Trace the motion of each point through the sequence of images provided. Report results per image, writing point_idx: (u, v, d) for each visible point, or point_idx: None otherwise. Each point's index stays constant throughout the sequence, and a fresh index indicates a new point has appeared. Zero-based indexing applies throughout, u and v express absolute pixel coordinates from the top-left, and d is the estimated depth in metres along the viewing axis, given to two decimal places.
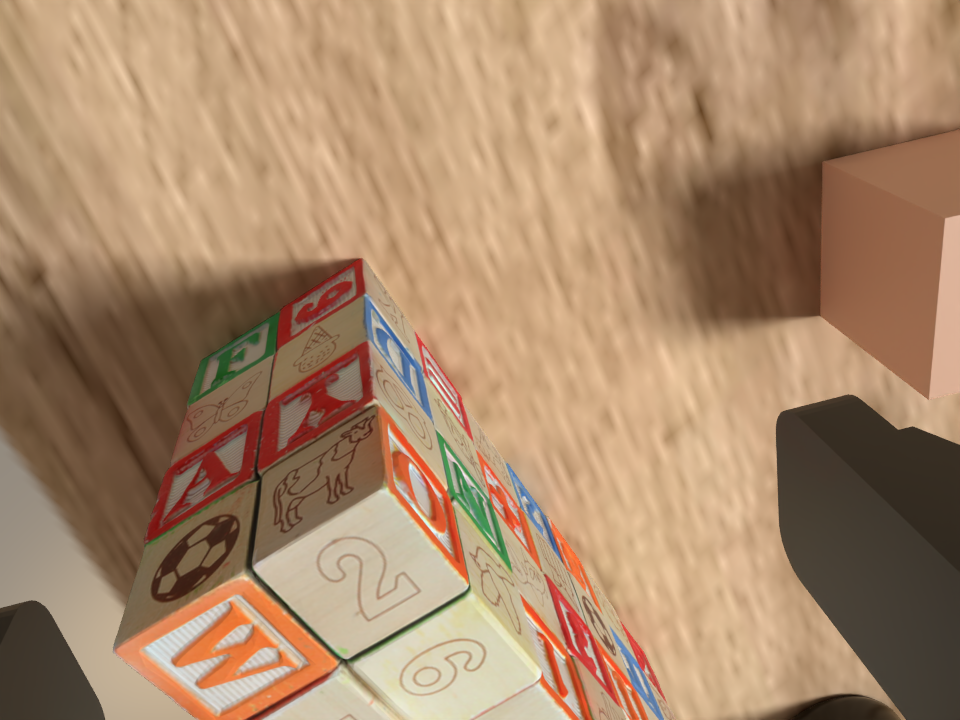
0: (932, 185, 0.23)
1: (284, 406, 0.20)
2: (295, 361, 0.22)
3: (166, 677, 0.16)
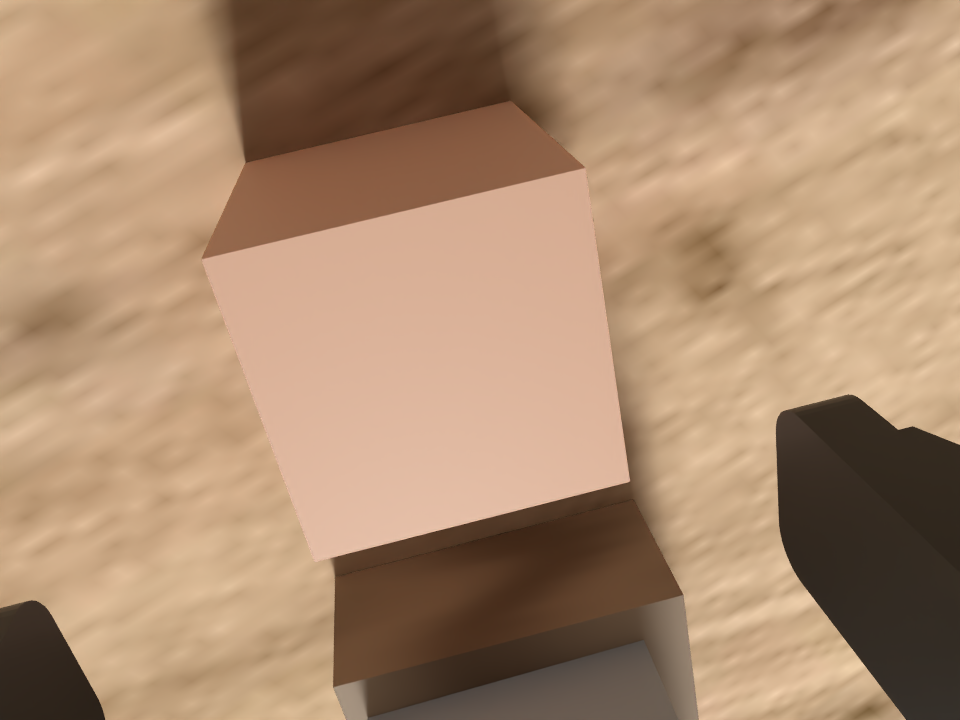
0: None
1: None
2: None
3: None
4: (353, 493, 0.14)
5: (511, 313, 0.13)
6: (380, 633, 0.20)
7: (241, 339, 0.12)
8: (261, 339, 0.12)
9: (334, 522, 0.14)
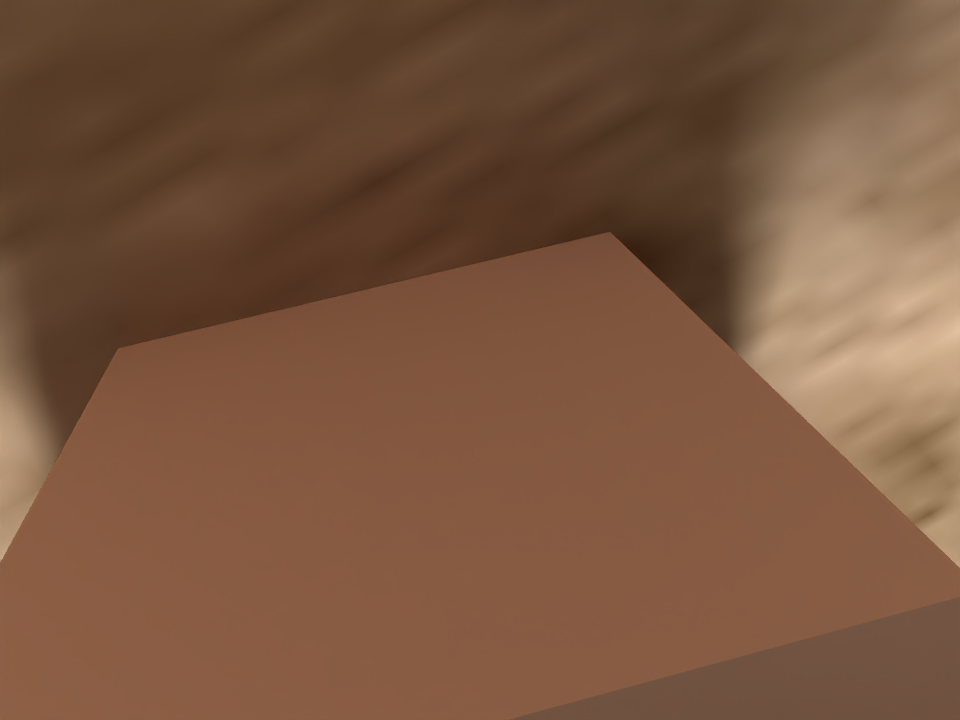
0: None
1: None
2: None
3: None
4: None
5: None
6: None
7: None
8: None
9: None
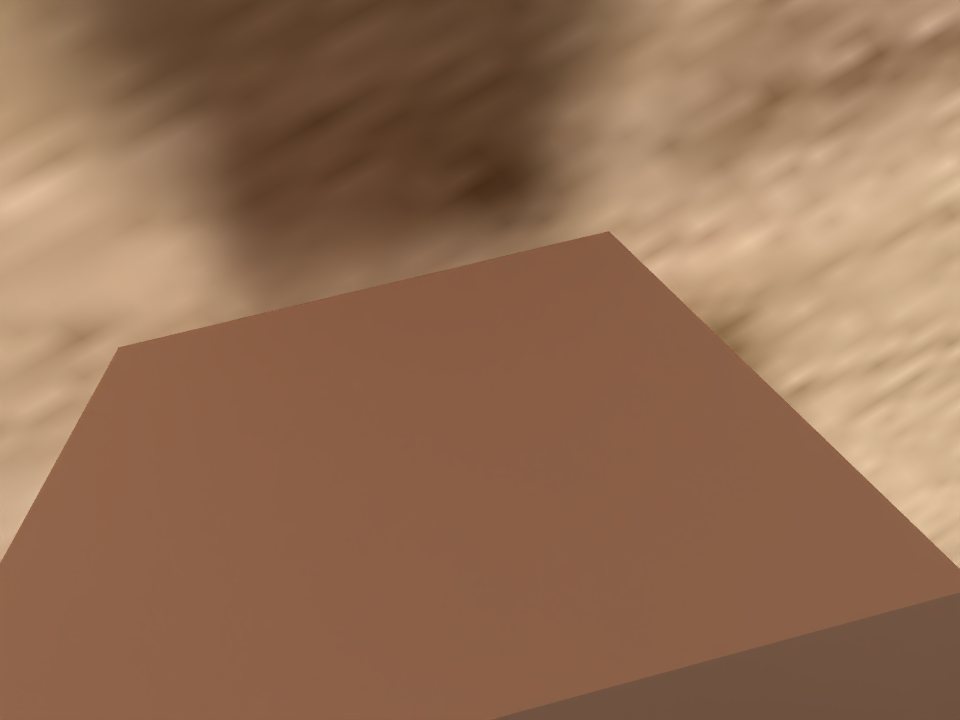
0: None
1: None
2: None
3: None
4: None
5: None
6: None
7: None
8: None
9: None
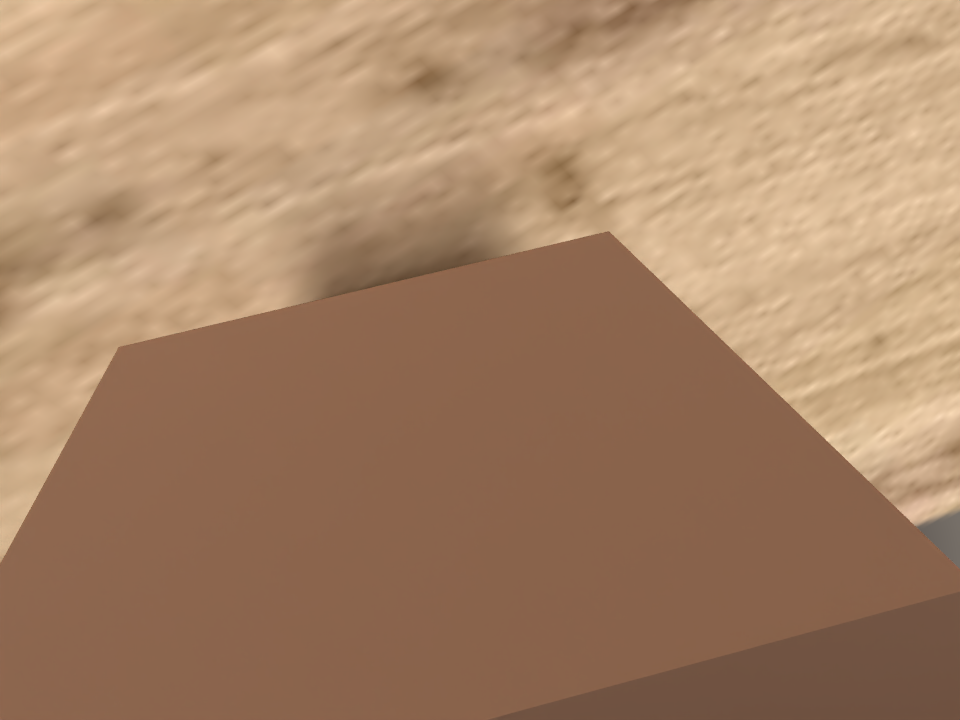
0: None
1: None
2: None
3: None
4: None
5: None
6: None
7: None
8: None
9: None
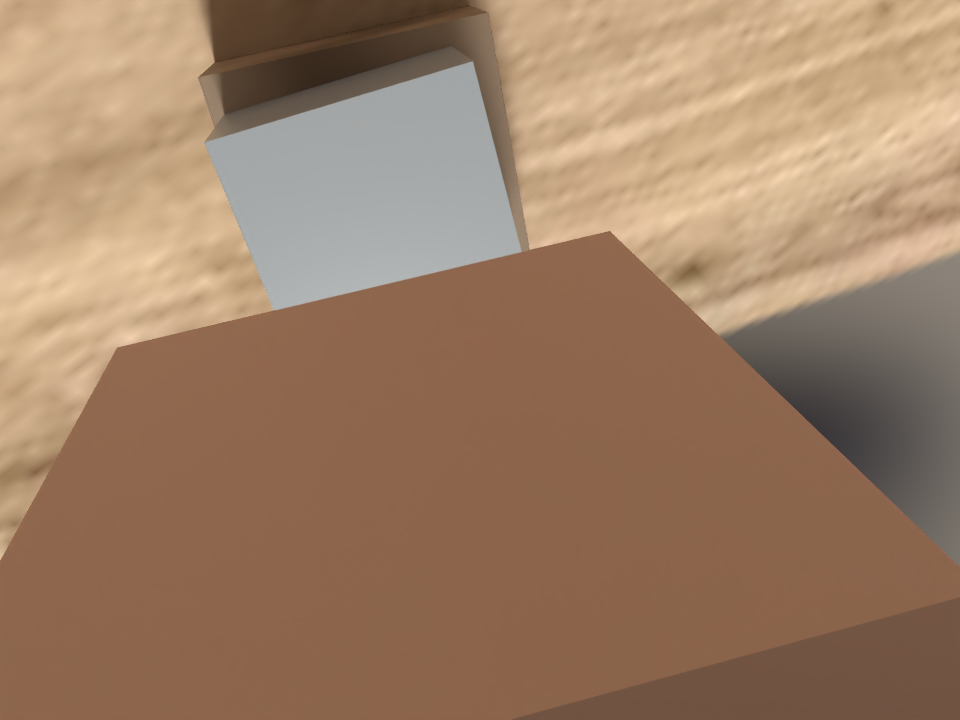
0: None
1: None
2: None
3: None
4: None
5: None
6: (243, 62, 0.24)
7: None
8: None
9: None
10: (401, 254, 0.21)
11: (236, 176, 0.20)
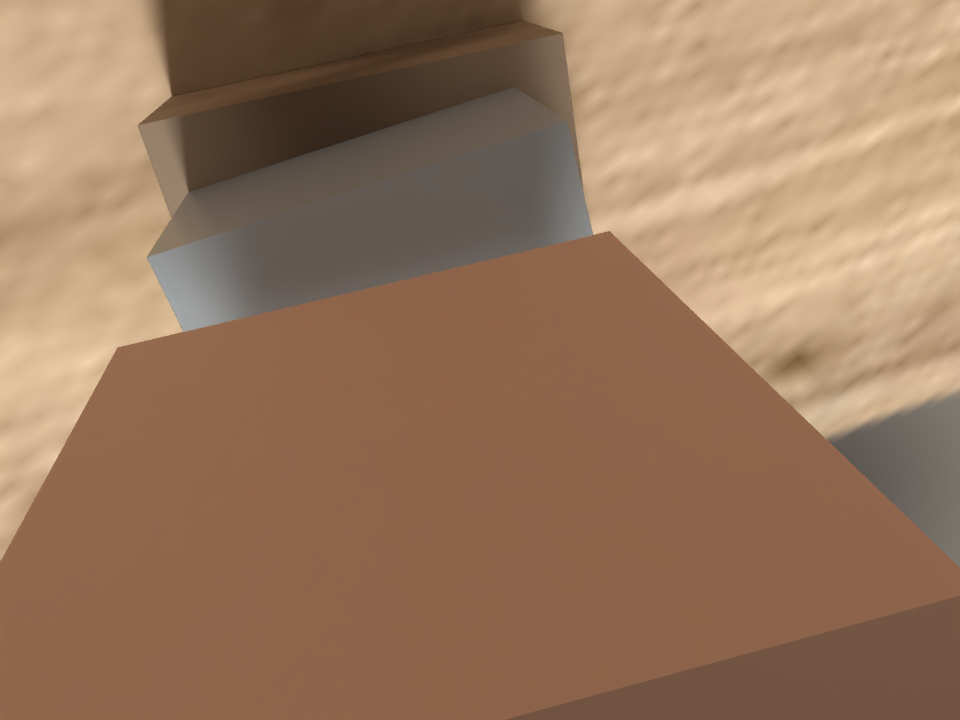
0: None
1: None
2: None
3: None
4: None
5: None
6: (207, 102, 0.16)
7: None
8: None
9: None
10: None
11: (198, 305, 0.13)
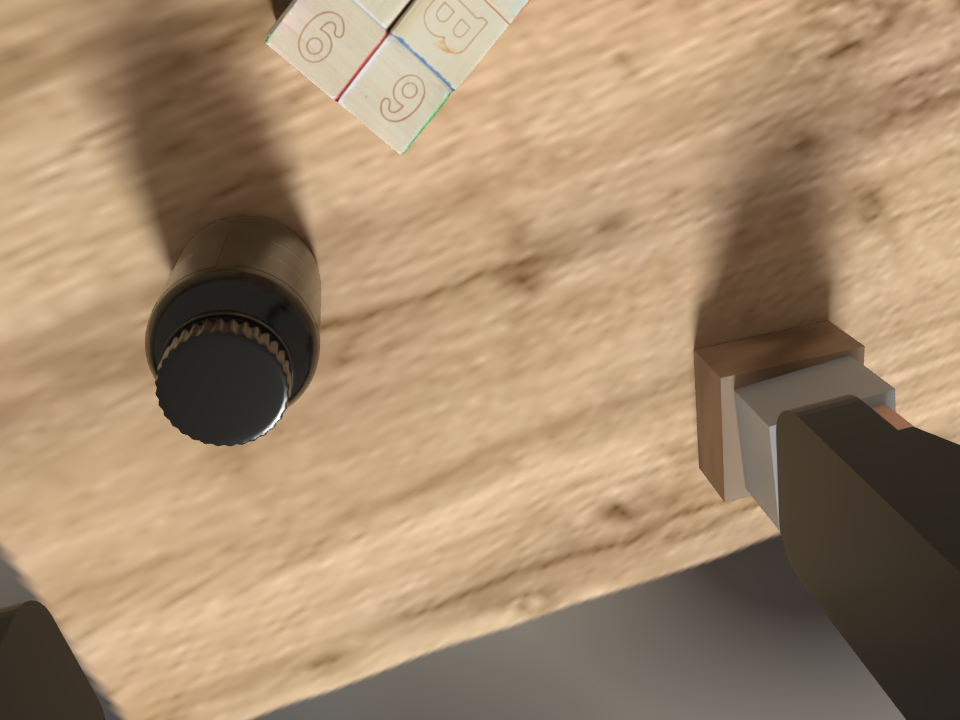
0: None
1: None
2: None
3: None
4: None
5: None
6: (730, 363, 0.45)
7: None
8: None
9: None
10: None
11: None
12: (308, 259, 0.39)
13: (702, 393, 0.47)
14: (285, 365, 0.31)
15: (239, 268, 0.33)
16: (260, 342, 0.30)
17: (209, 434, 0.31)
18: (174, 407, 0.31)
